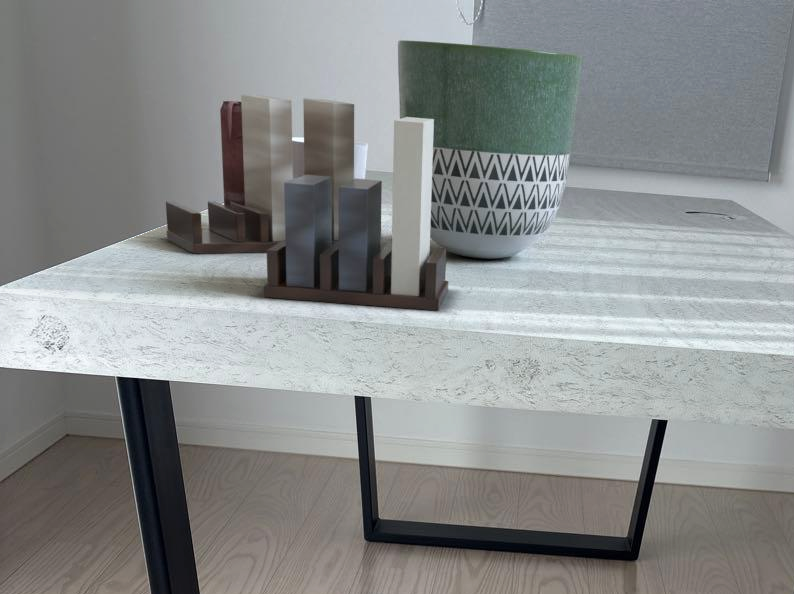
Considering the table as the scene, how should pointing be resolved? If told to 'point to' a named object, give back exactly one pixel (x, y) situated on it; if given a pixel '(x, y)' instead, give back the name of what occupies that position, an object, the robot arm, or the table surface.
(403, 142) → the white book
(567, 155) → the planter
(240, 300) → the table surface
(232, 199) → the dark red upright block
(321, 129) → the brown book rack
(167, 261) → the table surface
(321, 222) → the desk organizer with blocks
